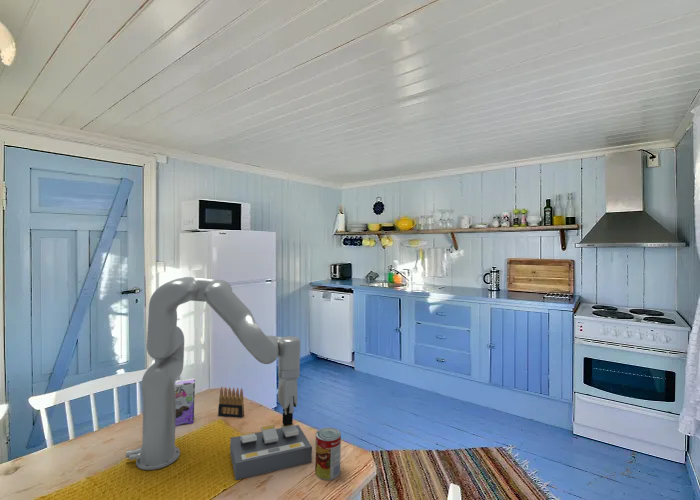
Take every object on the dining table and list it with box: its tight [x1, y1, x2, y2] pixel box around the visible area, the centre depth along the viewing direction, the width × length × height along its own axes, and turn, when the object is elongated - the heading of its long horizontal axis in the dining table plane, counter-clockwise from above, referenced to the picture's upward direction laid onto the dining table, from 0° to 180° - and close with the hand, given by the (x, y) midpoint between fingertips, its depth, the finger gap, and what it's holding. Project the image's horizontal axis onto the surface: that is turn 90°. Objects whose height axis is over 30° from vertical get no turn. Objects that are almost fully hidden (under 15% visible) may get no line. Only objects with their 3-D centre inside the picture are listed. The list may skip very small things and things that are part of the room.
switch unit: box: [229, 424, 313, 481], centre depth 117 cm, size 24×16×6 cm, turn 114°
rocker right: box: [280, 422, 299, 437], centre depth 122 cm, size 4×7×1 cm, turn 24°
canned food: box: [314, 427, 342, 481], centre depth 110 cm, size 8×8×12 cm
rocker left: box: [239, 432, 257, 443], centre depth 116 cm, size 4×7×1 cm, turn 24°
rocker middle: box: [260, 424, 278, 444], centre depth 119 cm, size 4×7×1 cm, turn 24°
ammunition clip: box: [217, 386, 245, 419], centre depth 146 cm, size 11×2×12 cm, turn 83°
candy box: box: [175, 377, 196, 427], centre depth 140 cm, size 14×6×16 cm, turn 112°
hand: (287, 424), depth 124 cm, fingers closed
